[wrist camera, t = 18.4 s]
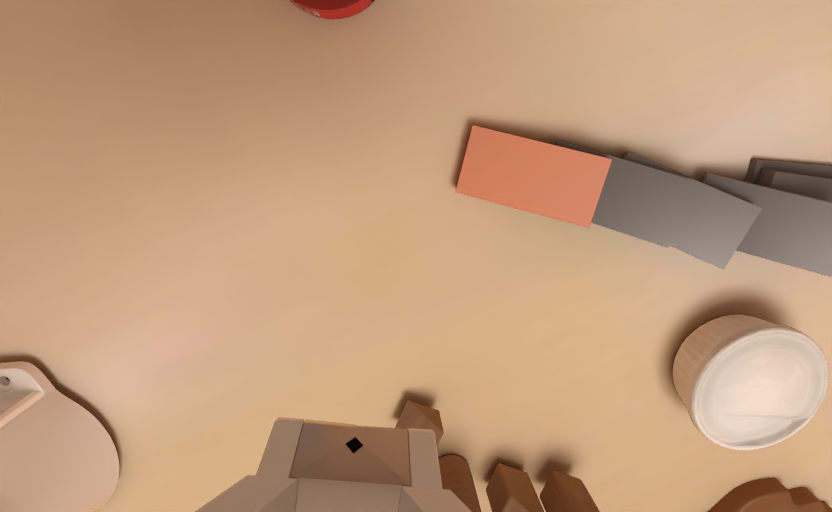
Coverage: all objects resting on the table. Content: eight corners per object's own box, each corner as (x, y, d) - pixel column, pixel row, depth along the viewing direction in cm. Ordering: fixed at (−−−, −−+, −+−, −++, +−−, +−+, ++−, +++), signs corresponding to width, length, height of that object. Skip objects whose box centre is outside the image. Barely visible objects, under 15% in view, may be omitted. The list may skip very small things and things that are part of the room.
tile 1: (534, 203, 39) (668, 247, 37) (558, 139, 38) (697, 181, 36) (535, 201, 41) (663, 243, 39) (558, 140, 39) (692, 180, 37)
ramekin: (683, 433, 48) (718, 473, 43) (641, 340, 45) (673, 371, 40) (796, 380, 47) (845, 414, 42) (761, 280, 44) (810, 304, 39)
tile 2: (596, 212, 39) (723, 269, 38) (628, 151, 38) (762, 208, 36) (594, 210, 41) (717, 264, 39) (626, 151, 40) (754, 206, 38)
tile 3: (683, 235, 40) (831, 277, 37) (707, 173, 39) (864, 210, 35) (682, 232, 42) (825, 272, 38) (706, 172, 40) (856, 208, 37)
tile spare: (455, 192, 38) (588, 227, 37) (472, 125, 37) (612, 159, 35) (458, 190, 40) (587, 224, 38) (475, 125, 39) (609, 158, 37)
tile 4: (753, 235, 40) (870, 250, 41) (775, 171, 38) (896, 188, 39) (740, 230, 41) (853, 244, 42) (760, 168, 40) (877, 184, 41)
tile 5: (740, 222, 41) (856, 231, 42) (757, 159, 40) (877, 170, 40) (727, 218, 43) (840, 226, 43) (744, 157, 41) (859, 167, 42)
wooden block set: (583, 451, 48) (636, 533, 38) (544, 526, 50) (585, 623, 40) (406, 389, 46) (413, 459, 36) (371, 470, 47) (367, 559, 37)
